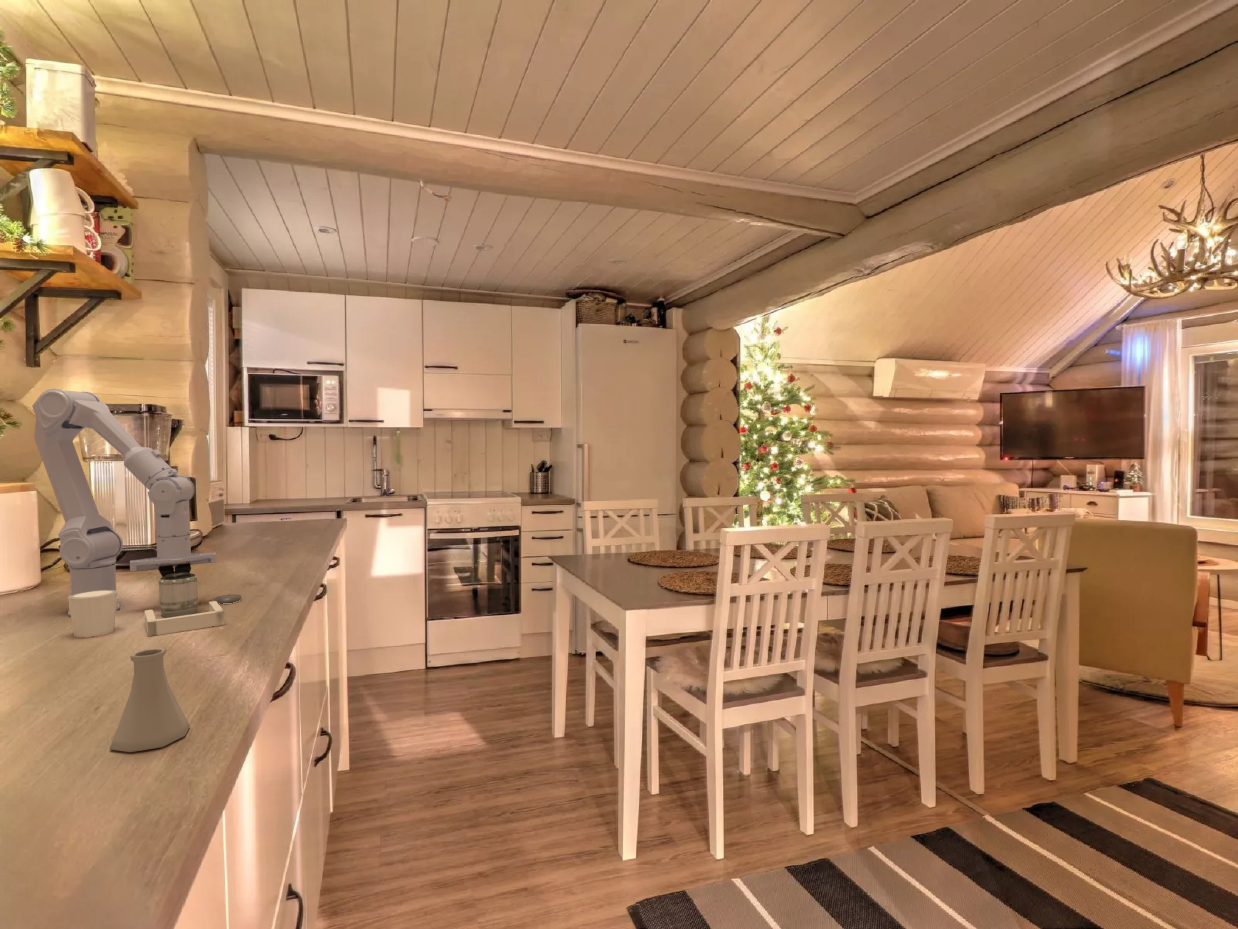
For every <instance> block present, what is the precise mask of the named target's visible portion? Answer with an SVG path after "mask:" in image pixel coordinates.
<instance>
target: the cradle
mask: <svg viewBox="0 0 1238 929" xmlns="http://www.w3.org/2000/svg"><path fill="white" fill-rule="evenodd" d="M144 625H145V630H146V633H147V636H148V637H154V636H159V635H160V636H161V635H168V634H173V633H174V634H175V633H181V632H187V631H192V630H193V631H194V630H200V629H206V628H213V627H212V626H214V627H219V626H220V627H221V626H225V611H224V610H223V608H222V607H221V605H219V604H218V603H217V601H214V600H212V601H208V611H206V612H200V613H194V614H192V615H185V616H178V617H171V618H165V617H163V618H157V619H156V615H155V613H154V610H153V609H146V610H144Z"/></svg>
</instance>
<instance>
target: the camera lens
mask: <svg viewBox="0 0 1238 929" xmlns="http://www.w3.org/2000/svg"><path fill="white" fill-rule="evenodd" d="M158 593H159V594H158V595H159V596H158V598H159V611H160V613H161V616H162V618H171V617H178V616H185V615H192V614H197V608H198V604H199V597H198V595H199V593H198V576H197V574H194V573H191V572H190V573H188V572H180V573H173V574H168V575H165V576H164V577H162V576H161V577H160V578H159V580H158Z"/></svg>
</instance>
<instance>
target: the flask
mask: <svg viewBox="0 0 1238 929" xmlns="http://www.w3.org/2000/svg"><path fill="white" fill-rule="evenodd" d="M166 653H167V648H165V647H164V648H163V647H162V648H161V647H155V648H153V647H152V648H145V649H140V650H138V651H135V652H133V653H132V654H131V655H130V657H129V658H130V661H132V662H133V678H132V683H131V689H130V692H129V695H128V698H127V701H126V703H125V705H124V708H123V709H124V710H123V712H122V715H121V718H120V720H119V723H118V724H117V727H116V730H115V733H114V736H113V738H112V741H111V743H110V745H109V746H110V747H109V750H112V751H118V752H126V753H135V752H139V751H145V750H152V749H158V748H163V747H165V746H167V745H169V744H172V743H174V742H175V741H177V740H180V739H181V738H183V737H186V735H187V732H188V731H189V728H190V726H191V725H190V723H189V721H188V719H187V717H186V715H185V714H184V712H183V710H182V708H181V706H180V705H179V703H178V700H177V699H176V696H175V694H174V692H173V690H172V689H171V686H170V684H169V681H168V678H167V674H166V671H165V667H164V666H165V665H164V656H165V654H166Z"/></svg>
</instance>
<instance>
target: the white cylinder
mask: <svg viewBox="0 0 1238 929" xmlns="http://www.w3.org/2000/svg"><path fill="white" fill-rule="evenodd" d="M117 599H118V591H117V589H116V590H96V591H88V592H82V593H77V594H74V595H71V594H70V595H69V596H67V600H68V608H69V607H70V613H71V615H70V618H71V625H72V630H73V636H74V638H78V637H85V638H92V636H94V637H99V636H104V635H107V634H111V633H113V632H114V631H115V630H116V628H115V626H116V615H117V609H116V604H117Z"/></svg>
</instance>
